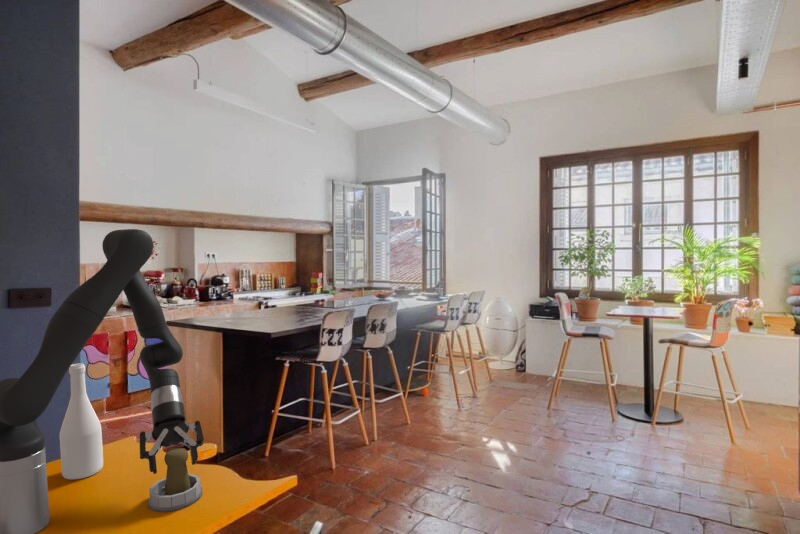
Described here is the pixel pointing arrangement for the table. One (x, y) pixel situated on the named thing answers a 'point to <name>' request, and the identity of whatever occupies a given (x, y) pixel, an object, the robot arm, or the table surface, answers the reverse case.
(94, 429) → the wine bottle
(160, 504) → the small gray bowl
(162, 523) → the table surface
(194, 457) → the robot arm
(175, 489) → the cork
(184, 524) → the table surface
